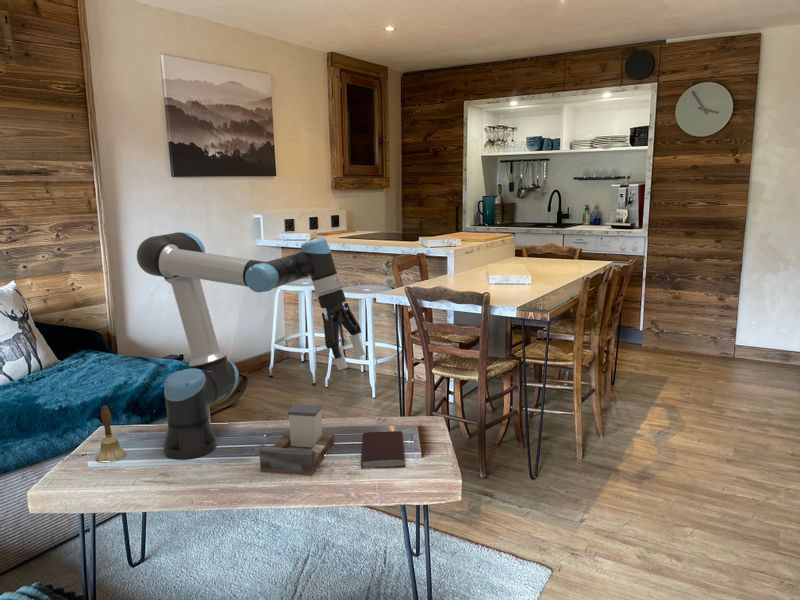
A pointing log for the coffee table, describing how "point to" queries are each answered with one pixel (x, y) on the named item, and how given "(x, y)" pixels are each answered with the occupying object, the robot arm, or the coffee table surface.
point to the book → (382, 450)
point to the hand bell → (109, 440)
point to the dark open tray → (318, 456)
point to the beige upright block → (305, 425)
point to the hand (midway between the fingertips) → (352, 362)
